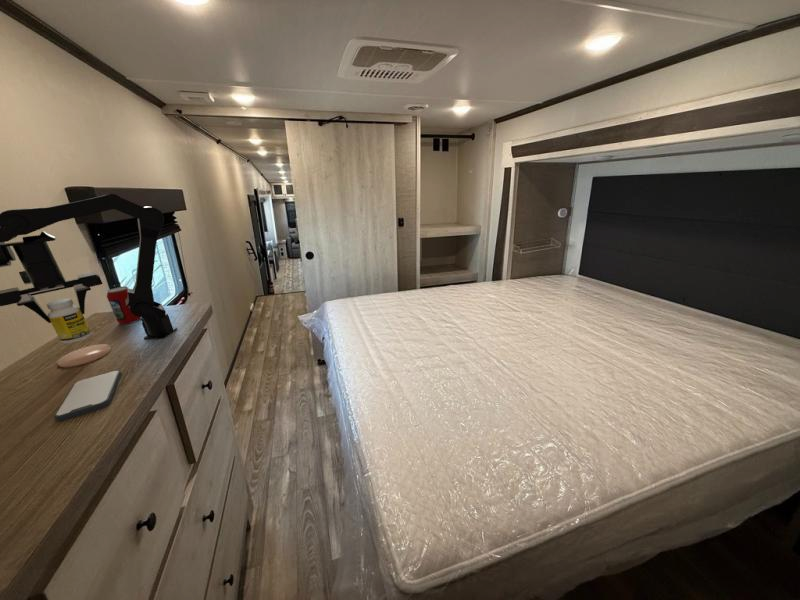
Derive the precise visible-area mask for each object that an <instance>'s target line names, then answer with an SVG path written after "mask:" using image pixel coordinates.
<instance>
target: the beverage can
mask: <svg viewBox="0 0 800 600" xmlns="http://www.w3.org/2000/svg"><path fill="white" fill-rule="evenodd" d="M127 288H128V286H118V287H117V286H116V287H114V288H111V289H108V290H106V291H107V293H106V298H107V301H108V303H109V305H110V308H111V311H112V312H113V315H114V317H115V319H116V321H117V323H118V324H122V325H128V323H129V324H132V322H133V323H135V321H136V322H138V321H139V320H141V319H142V317H137V316H135V315H133V314H132V313H131V312H130V309H129V306H128V307H127V306H126V301H125V300H126V299H127V296H128V294H127ZM128 289H130V288H128Z"/></svg>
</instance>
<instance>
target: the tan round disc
mask: <svg viewBox="0 0 800 600" xmlns="http://www.w3.org/2000/svg"><path fill="white" fill-rule="evenodd" d="M111 351H112V347H111V345H109V344H106V343H102V344H99V343H98V344H93V345H90V346H89V345H88V346H86V347H82V348H79V349H75V350H74V351H71V352H68V353H66V354H65V355H63V356H61V357H60V358H59V359H58V360H57V361H56V363H57V365H58V367H60V368H73V367H78V366H82V364H83V365H85V364H88V363H92V362H94V361H97V360H98V358H99V359H100V358H101V359H102V358H103V357H104V356H106V355H108V354H109V353H110V352H111ZM96 359H97V360H96Z"/></svg>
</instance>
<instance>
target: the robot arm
mask: <svg viewBox="0 0 800 600" xmlns="http://www.w3.org/2000/svg"><path fill="white" fill-rule="evenodd" d="M111 210H115V211H119V212H121V213H123V214H125V215H128V216H130V217H133V218H135V219H137V226H138V231H139V232H138V233H139V244H138V245H139V246H138V254H137V255H138V256H137V265H136V273H135V274H136V275H135V283H134V285H133V287H132V288H129V289H128V288H127V294H128V296H127V299H126V300H125V301H126V306H127V307H128V306H129V309H130V312H131V313H132V314H133V315H135V316H137V317H141V318H140V320H141V325H142V327H143V330H144V333H145V336H144V337H143V339H144V340H155V339H165V338H166V337H168V336H169V335H170V334H172V333H175V331H177V330H178V327H173V325H172V322H171V319H170V317H169V314H168V313H166V309H165V307H164V306H163V304H162V303H160V302H157V301H155V298H154V293H153V278H154V268H155V258H156V249H157V240H158V238H159V236H160V235H161V232H162V230H163V226H164V224H165V223H164V222H165V215H164V214H163V212H162V211H161V210H160V209H158V208H157V207H153V206H142V205H139V204H137V203H135V202H132V201H130V200H127V199H125V198H122V197H121V196H120V195H117V194H116V193H115V194H114V193H107V194H104V195H102V196H97V197H93V198H87V199H83V200H78V201H77V200H76V201H73V202H68V203H64V204H58V205H54V206H46V207H43V206H42V207H31V208H30V207H28V208H16V209H15V208H14V209H9V210H5V211H2V212H0V268H4V267H10V266H12V262H15V261H17V259H16V256H17V258H18V259H19V261H20V264H21V265H22V267H23V270H22V271H18V274H19V277H20V278H21V281H22V282H23V284H24V285H32V286H33V287H30V288H26V289H21V290H20V289H19V287H18V286H15V287H11V288H6V289H2V290H0V307H5V306H9V305H14V304H16V306H17V307H21V306H24V307H25V308H28V309H29V310H31V311H32V312H34V313H35V314H37V315H38V316H39V317H40V318H42V319H43V320H44V321H46V322H47V323H49V324H52V323H51V321H50V319H49V318H48V313H46V311H45V310H44V309H43V308H42V306H41V305H40V304H39V302H38V301H37V300H36V297H35V296H37V295H40V294H41V295H42V294H46V293H52V292H56V291H60V290H65V289H70V288H73V289H74V293H75V297H76V300H77V304H78V307H79V308H80V310H81V312H82V314H83V315H85V311H86V310H85V308H86V307H85V306H86V304H85V302H86V301H85V300H86V296H87V292H88V291H91V290H92V287H97V286H100V285H103V284H104V283H103V281H102V279H101V277H100V275H99V274H97V272H96V273H95V271H94V272H93V271H92V272H88V273H84V274H79V275H78V274H77V278H73V279H70V280H66V279H65V277H64V275H63V273H62V271H61V269H60V267H59V264H58V263H57V261H56V258H55V256H54V255H53V252H52V250H51V248H50V246H49V244H48V242H53V241H56V239H57V237H56V236H54V235H52V234H50V233H48V232H46V231H44V230H42V229H44V228H46V227H48V226H51V225H54V224H55V223H59V222H64V221H66V220H67V221H68V220H72V219H76V218H81V217H84V216H88V215H93V214H97V213H101V212H107V211H111ZM38 230H42V231H41V233H39V234H37V235H29V234H31V233H34V232H36V231H38ZM24 235H29V236H24ZM18 236H22V240H21V241H15V242H13V241H12V240H14V239H16V238H17V237H18ZM11 241H12V242H11ZM12 248H13V250H14V251H13V250H12ZM14 252H15V253H14ZM15 254H16V255H15Z"/></svg>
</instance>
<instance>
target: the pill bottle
mask: <svg viewBox="0 0 800 600" xmlns="http://www.w3.org/2000/svg"><path fill="white" fill-rule="evenodd" d="M46 307H47V309H48V310H50V311H49V312H48V313H47V316H48V318H49V319H50V321H51V323H50V324H51V326H52V327H53V329H54V331H55V333H56V334H57V337H58V340H60V343H62V344H72V343H76V342H80V341H83V340H85V339H87V338H89V337H90V336H91V335H92V331H91V329H90V327H89V325H88V322H87V321H86V318H85V316H84V314H82V312H81V310H80V308H79V306H77V305H74V301H73V300H72V298H62V299H61V298H60V299H56V300H53V301H50V302H48V303H46Z"/></svg>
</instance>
